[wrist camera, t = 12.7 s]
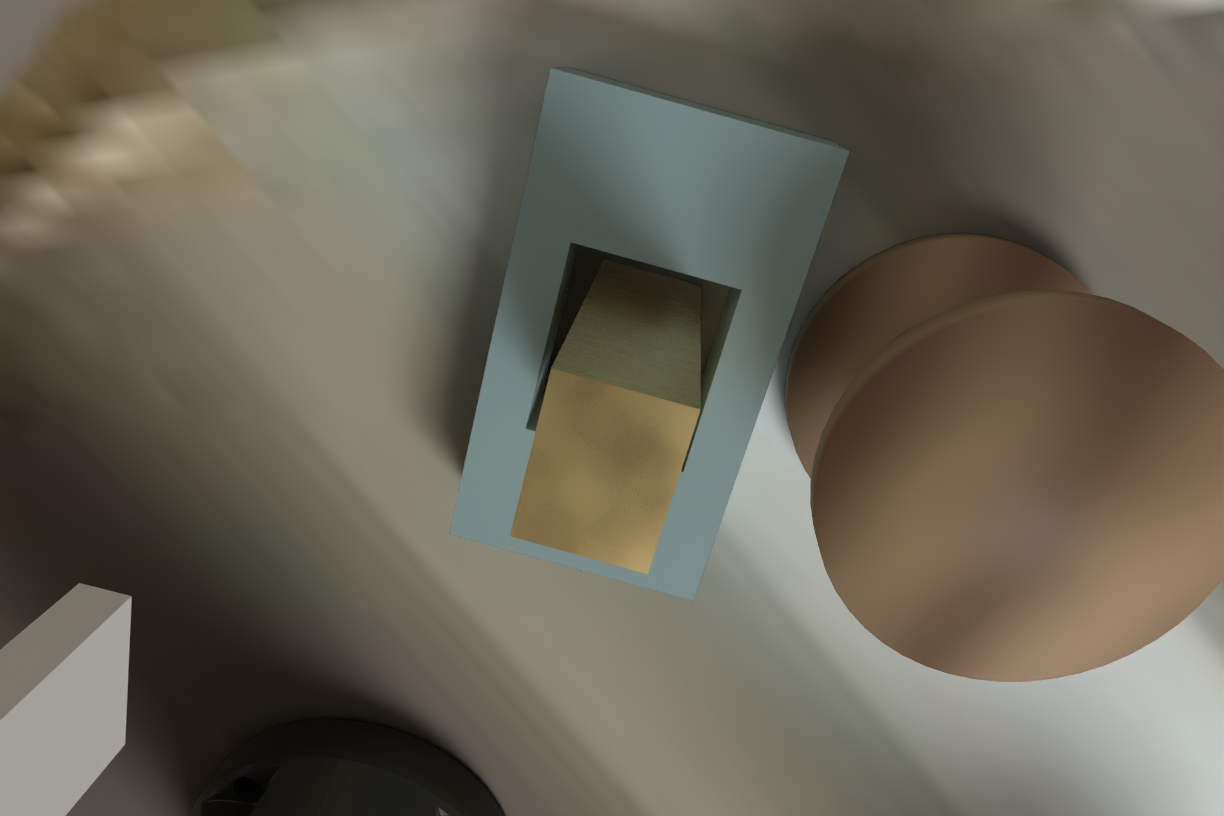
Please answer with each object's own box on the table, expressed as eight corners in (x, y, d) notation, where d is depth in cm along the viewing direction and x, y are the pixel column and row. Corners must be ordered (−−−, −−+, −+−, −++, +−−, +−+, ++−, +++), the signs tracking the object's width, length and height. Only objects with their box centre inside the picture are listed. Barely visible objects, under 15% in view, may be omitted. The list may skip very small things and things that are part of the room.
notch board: (693, 551, 35) (693, 601, 32) (472, 490, 35) (448, 534, 32) (833, 141, 29) (849, 151, 26) (566, 67, 29) (550, 67, 26)
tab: (665, 401, 33) (648, 574, 22) (574, 376, 33) (509, 536, 22) (700, 286, 31) (700, 409, 20) (604, 259, 31) (550, 368, 20)
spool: (745, 480, 34) (761, 622, 25) (846, 194, 30) (905, 248, 21) (1024, 557, 34) (1134, 724, 25) (1163, 283, 30) (1349, 371, 21)
